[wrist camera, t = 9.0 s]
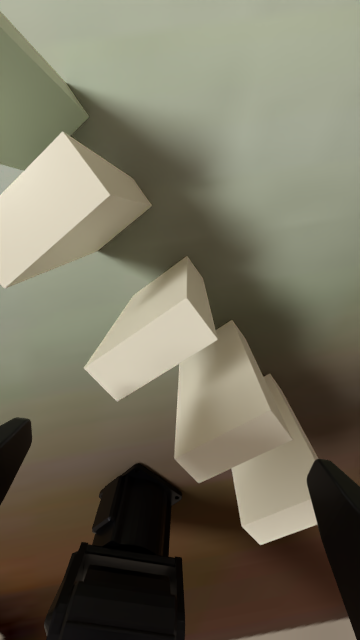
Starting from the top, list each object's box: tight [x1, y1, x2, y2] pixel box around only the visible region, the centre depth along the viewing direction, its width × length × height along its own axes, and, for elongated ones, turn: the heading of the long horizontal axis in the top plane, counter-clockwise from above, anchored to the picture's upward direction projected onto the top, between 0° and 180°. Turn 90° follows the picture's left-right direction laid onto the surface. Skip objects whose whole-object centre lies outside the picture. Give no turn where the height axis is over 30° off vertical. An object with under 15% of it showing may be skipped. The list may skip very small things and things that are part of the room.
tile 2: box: [174, 320, 293, 483], centre depth 16 cm, size 2×5×10 cm, turn 126°
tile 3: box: [84, 256, 218, 401], centre depth 14 cm, size 2×5×10 cm, turn 126°
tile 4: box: [0, 131, 152, 288], centre depth 13 cm, size 2×5×10 cm, turn 126°
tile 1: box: [232, 374, 318, 545], centre depth 18 cm, size 2×5×10 cm, turn 126°
